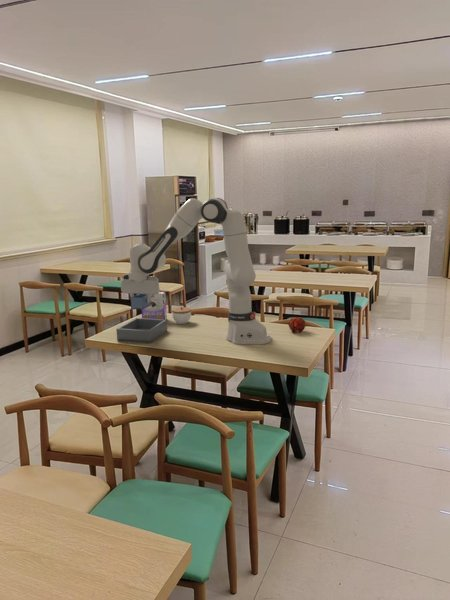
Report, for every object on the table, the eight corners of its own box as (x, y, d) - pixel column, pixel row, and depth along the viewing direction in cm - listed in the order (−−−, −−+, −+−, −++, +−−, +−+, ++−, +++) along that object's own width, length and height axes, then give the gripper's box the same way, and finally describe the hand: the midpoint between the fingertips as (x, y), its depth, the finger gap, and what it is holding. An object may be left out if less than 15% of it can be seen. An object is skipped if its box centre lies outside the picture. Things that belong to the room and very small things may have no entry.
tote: (150, 305, 246) (150, 293, 244) (142, 309, 236) (141, 298, 235) (140, 304, 247) (139, 293, 246) (131, 309, 238) (130, 297, 237)
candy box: (167, 318, 277) (165, 291, 274) (164, 321, 272) (163, 293, 268) (144, 318, 279) (142, 291, 275) (141, 321, 273) (140, 293, 269)
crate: (167, 330, 253) (166, 319, 252) (149, 342, 232) (149, 331, 231) (136, 328, 258) (136, 317, 257) (117, 340, 237) (116, 328, 236)
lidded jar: (171, 320, 273) (171, 305, 270) (190, 319, 274) (189, 304, 272) (173, 325, 262) (172, 309, 260) (192, 324, 264) (191, 308, 262)
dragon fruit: (301, 331, 253) (295, 340, 243) (288, 321, 254) (282, 330, 244) (310, 320, 249) (304, 329, 238) (297, 310, 250) (291, 319, 239)
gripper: (161, 275, 238) (162, 301, 241) (124, 273, 244) (126, 299, 247) (155, 277, 232) (157, 304, 235) (118, 276, 238) (120, 302, 241)
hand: (141, 302), depth 241 cm, fingers closed on tote, 6 cm apart
